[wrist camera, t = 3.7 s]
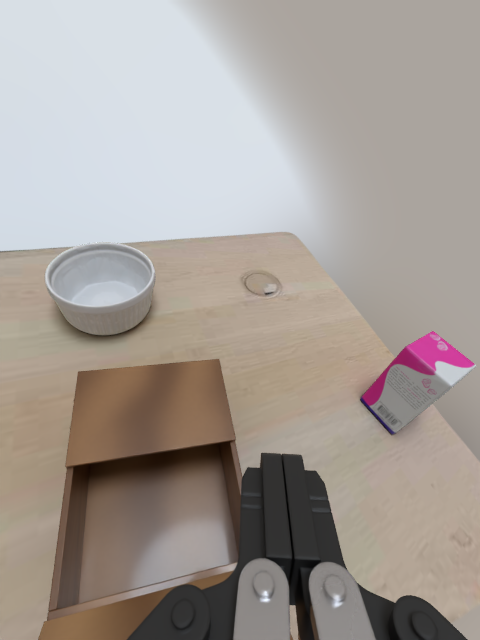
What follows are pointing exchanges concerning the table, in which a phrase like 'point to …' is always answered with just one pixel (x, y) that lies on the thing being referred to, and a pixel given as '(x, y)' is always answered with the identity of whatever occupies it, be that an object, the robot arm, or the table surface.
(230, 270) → the table surface
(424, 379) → the supplement box
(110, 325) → the ramekin
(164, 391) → the carton
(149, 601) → the flap
